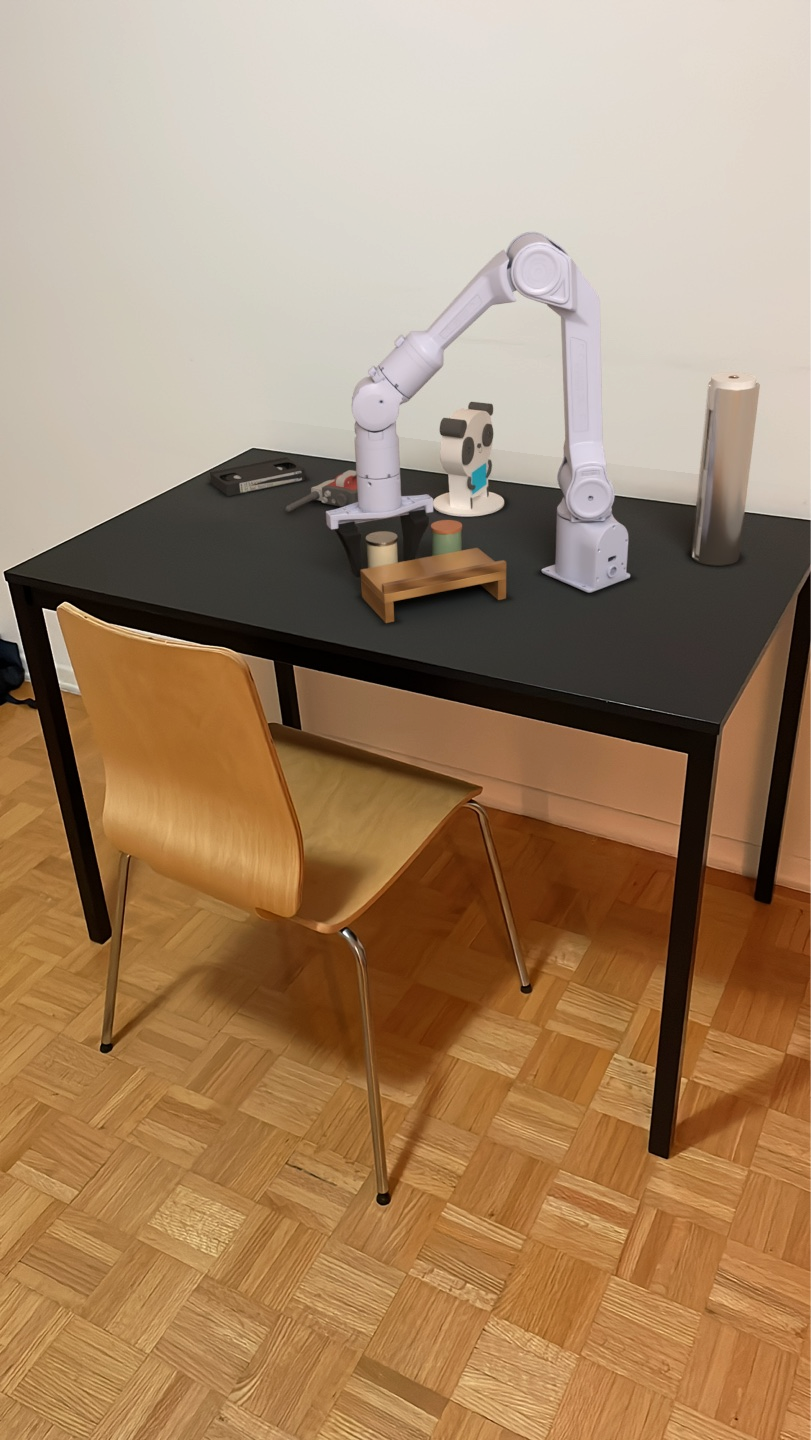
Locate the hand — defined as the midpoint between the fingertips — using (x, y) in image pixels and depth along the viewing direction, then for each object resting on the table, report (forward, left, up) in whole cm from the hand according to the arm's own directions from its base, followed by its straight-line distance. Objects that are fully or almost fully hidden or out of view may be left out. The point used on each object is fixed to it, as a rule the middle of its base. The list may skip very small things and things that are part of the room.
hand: (383, 569), depth 155 cm
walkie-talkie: (+31, -14, -2) cm, 34 cm away
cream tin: (0, 0, -2) cm, 2 cm away
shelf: (-9, -2, -2) cm, 9 cm away
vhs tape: (+49, -9, -2) cm, 50 cm away
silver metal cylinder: (-24, -40, -2) cm, 47 cm away
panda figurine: (+16, -28, -2) cm, 32 cm away
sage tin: (-3, -9, -2) cm, 10 cm away
